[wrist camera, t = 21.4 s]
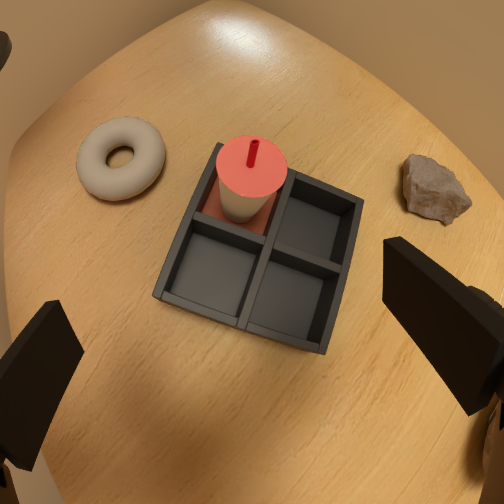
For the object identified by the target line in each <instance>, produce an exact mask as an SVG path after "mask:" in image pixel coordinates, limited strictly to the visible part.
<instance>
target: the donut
mask: <svg viewBox="0 0 504 504" xmlns="http://www.w3.org/2000/svg"><path fill="white" fill-rule="evenodd" d="M124 145H125V146H130V147H132V148H133V149H134V156H133V158H132V160H131V161H130V162H129V163H128V164H126V165H125V166H122V167H120V168H110V167H108V166H107V165H106V157H107V155H108V154H109V153H110V152H111V151H112V150H113V149H114V148H117V147H119V146H124ZM164 160H165V143H164V141H163V139H162V136H161V134H160V132H159V131H158V130H157V129H156V128H155V127H154V126H153V125H152V124H151V123H150V122H148V121H145V120H143V119H141V118H139V117H130V116H124V117H117V118H113V119H110V120H108V121H106V122H104V123H101V124H100V125H99V126H97V127H96V128H95V129H93V130H92V131H91V132H90V133H89V134H88V136H87V137H86V138H85V139H84V141H83V142H82V145H81V147H80V149H79V152H78V155H77V163H76V169H77V173H78V177H79V180H80V182H81V184H82V185H83V186H84V188H85V189H86V190H87V191H88V192H89V193H91V194H93V195H94V196H96V197H98V198H99V199H104V200H110V201H117V200H124V199H128V198H131V197H133V196H135V195H137V194H140V193H141V192H143V191H144V190H145V189H146V188H148V187H149V186H150V185H151V184H152V183H153V182H154V181H155V179H156V178H157V176H158V175H159V174H160V172H161V170H162V167H163V163H164Z"/></svg>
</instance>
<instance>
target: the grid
mask: <svg viewBox="0 0 504 504" xmlns="http://www.w3.org/2000/svg"><path fill="white" fill-rule="evenodd" d="M224 145H225V144H222V143H219V142H217V144H216V146H215V148H214V150H213V152H212V154H211V157H210V159H209V161H208V163H207V165H206V167H205V169H204V171H203V174H202V176H201V178H200V180H199V182H198V185H197V187H196V189H195V191H194V193H193V196H192V198H191V200H190V202H189V205H188V207H187V209H186V212H185V214H184V216H183V219H182V221H181V223H180V226H179V228H178V230H177V233H176V235H175V238H174V240H173V242H172V245H171V247H170V250H169V252H168V255H167V257H166V260H165V262H164V265H163V267H162V270H161V272H160V275H159V277H158V280H157V283H156V285H155V288H154V291H153V293H152V296H153V297H154V298H156V299H158V300H159V301H162V302H164V303H167V304H169V305H172V306H175V307H177V308H180V309H182V310H185V311H188V312H190V313H193V314H196V315H199V316H201V317H204V318H207V319H210V320H212V321H215V322H218V323H221V324H224V325H226V326H229V327H232V328H235V329H238V330H241V331H244V332H247V333H250V334H253V335H256V336H259V337H262V338H265V339H268V340H271V341H275V342H278V343H281V344H284V345H287V346H291V347H294V348H297V349H301V350H304V351H307V352H312V353H317V354H321V355H325V354H326V351H327V348H328V344H329V341H330V338H331V334H332V331H333V328H334V324H335V321H336V317H337V314H338V310H339V306H340V303H341V299H342V295H343V291H344V288H345V284H346V280H347V276H348V272H349V268H350V264H351V259H352V255H353V251H354V246H355V242H356V237H357V233H358V228H359V223H360V219H361V214H362V209H363V204H364V200H363V199H361V198H359V197H356V196H354V195H352V194H350V193H347V192H345V191H343V190H341V189H338V188H336V187H334V186H331V185H329V184H327V183H324V182H322V181H320V180H317V179H315V178H312V177H310V176H307V175H305V174H303V173H300V172H297V171H295V170H293V169H289V168H288V167H287V175H286V179H285V181H284V183H283V184H282V186H281V187H280V188H279V189H278V190H276V191H275V192H274V193H273V194H272V195H271V196H270V197H269V199H268V200H267V201H266V202H265V203H264V205H263V206H262V207H261V208H260V209H259V211H258V212H257V213H256V214H255V215H254V216H253V217H252V219H251V220H249V221H248V222H245V223H240V224H239V223H233V222H231V221H229V220H228V219H227V218H226V217H225V216H224V214H223V212H222V205H221V197H220V186H219V175H218V173H217V169H216V159H217V155H218V153H219V151H220V149H221V148H222V147H223V146H224Z"/></svg>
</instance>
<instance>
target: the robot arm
mask: <svg viewBox="0 0 504 504" xmlns="http://www.w3.org/2000/svg"><path fill="white" fill-rule="evenodd" d="M382 301H383V303H384V304H385V305H386V306H387V308H388V309H389V310H390V311H391V313H392V314H393V315H394V316H395V318H396V319H397V320H398V321H399V323H400V324H401V325H402V326H403V328H404V329H405V330H406V332H407V333H408V334H409V335H410V337H411V338H412V339H413V341H414V342H415V343H416V345H417V346H418V347H419V348H420V350H421V351H422V352H423V354H424V355H425V356H426V358H427V359H428V360H429V362H430V363H431V364H432V366H433V367H434V369H435V370H436V371H437V373H438V374H439V375H440V377H441V378H442V380H443V381H444V382H445V384H446V385H447V387H448V388H449V389H450V391H451V392H452V394H453V395H454V396H455V398H456V399H457V401H458V402H459V404H460V405H461V407H462V408H463V409H464V411H465V412H466V414H467V415H468V417H469V416H471V415H473V414H474V413H476V412H478V411H480V410H482V409H483V408H485V407H487V406H488V404H489V402H490V400H491V398H492V396H493V394H494V392H495V393H496V395H497V396H498V397H499V398H500V400H499V402H498V403H497V405H496V407H495V409H494V411H493V413H492V414H491V416H490V418H489V421H488V423H490V424H491V422H492V421H493V419H494V417H495V416H496V417H495V426H494V433H493V440H492V446H491V452H490V457H489V462H488V467H487V472H486V476H485V481H484V485H483V489H482V493H481V496H480V500H479V503H478V504H504V308H502V306H501V305H500V304H499V303H498V302H496V301H495V302H494V299H493V298H492V297H490V296H489V295H488V294H487V293H485V292H484V291H482V290H480V289H478V288H475V287H473V286H468V287H467V286H465V285H464V284H463V283H462V282H460V281H459V280H458V279H457V278H455V277H454V276H453V275H452V274H450V273H449V272H448V271H446V270H445V269H444V268H443V267H441V266H440V265H439V264H437V263H436V262H435V261H433V260H432V259H431V258H429V257H428V256H427V255H425V254H424V253H423V252H421V251H420V250H419V249H417V248H416V247H415V246H413V245H412V244H410V243H409V242H408V241H406V240H405V239H403V238H402V237H401V236H399V237H394V238H389V239H384V240H383V294H382ZM83 354H84V350H83V348H82V346H81V344H80V342H79V340H78V339H77V337H76V335H75V333H74V331H73V329H72V327H71V325H70V323H69V320H68V318H67V316H66V314H65V312H64V310H63V308H62V306H61V303H60V301H59V300H53V301H47V302H45V303H44V305H43V306H42V307H41V308H40V309H39V311H38V312H37V313H36V314H35V315H34V317H33V318H32V319H31V320H30V321H29V323H28V324H27V325H26V326H25V328H24V329H23V330H22V332H21V333H20V334H19V335H18V337H17V338H16V339H15V341H14V342H13V343H12V345H11V346H10V348H9V349H8V350H7V351H6V353H5V354H4V355H3V357H2V358H1V359H0V504H19V501H18V498H17V495H16V492H15V488H14V484H13V481H12V477H11V474H10V470H9V468H8V467H7V466H6V465H5V464H4V461H5V458H7V459H8V460H9V461H10V462H11V463H12V464H13V465H14V466H15V467H17V468H19V469H23V470H26V471H30V472H31V471H32V469H33V466H34V464H35V461H36V458H37V456H38V453H39V451H40V448H41V446H42V443H43V441H44V438H45V436H46V433H47V431H48V429H49V426H50V424H51V422H52V419H53V417H54V415H55V412H56V410H57V408H58V406H59V403H60V401H61V399H62V397H63V395H64V393H65V390H66V388H67V386H68V384H69V382H70V380H71V378H72V376H73V374H74V372H75V370H76V368H77V366H78V364H79V362H80V360H81V358H82V356H83Z"/></svg>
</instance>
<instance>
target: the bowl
mask: <svg viewBox="0 0 504 504" xmlns="http://www.w3.org/2000/svg"><path fill="white" fill-rule="evenodd" d="M495 417H496V416H495ZM495 417H494V419H493V421H492V422H491V424H490V425H489V427H488V430H487V434H486V438H485V445H484V450H483V469H484V474H485V476H486V472H487V467H488V462H489V457H490V452H491V446H492V440H493V433H494V426H495Z"/></svg>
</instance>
